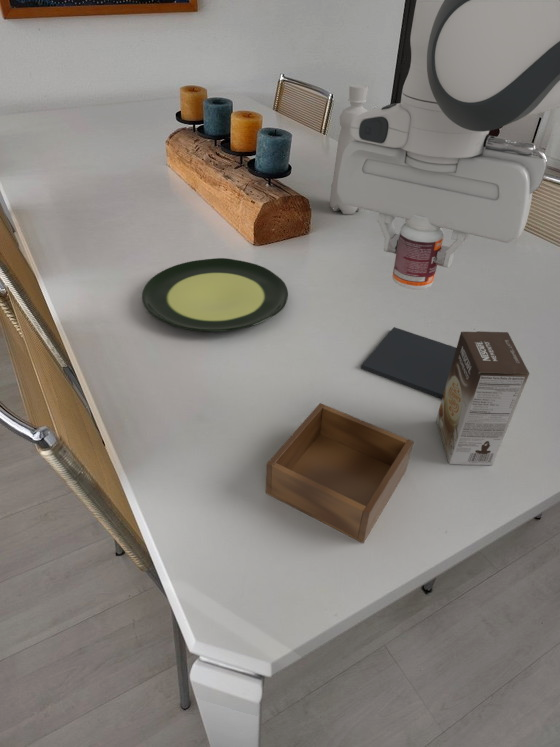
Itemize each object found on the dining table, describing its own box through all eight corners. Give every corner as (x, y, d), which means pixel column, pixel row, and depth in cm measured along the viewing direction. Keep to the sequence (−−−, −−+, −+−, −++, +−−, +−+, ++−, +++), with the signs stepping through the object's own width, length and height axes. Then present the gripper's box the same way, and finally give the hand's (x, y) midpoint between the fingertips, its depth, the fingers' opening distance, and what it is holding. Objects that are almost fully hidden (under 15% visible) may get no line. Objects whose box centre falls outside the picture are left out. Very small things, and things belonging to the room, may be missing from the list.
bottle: (369, 209, 148) (385, 86, 129) (351, 218, 142) (365, 91, 124) (340, 201, 152) (352, 81, 134) (322, 210, 146) (332, 85, 128)
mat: (503, 367, 92) (504, 363, 91) (480, 413, 82) (482, 409, 82) (393, 330, 100) (393, 326, 99) (360, 368, 90) (361, 364, 90)
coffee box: (433, 419, 81) (459, 328, 71) (476, 421, 81) (507, 330, 71) (448, 465, 73) (478, 371, 64) (495, 467, 73) (532, 373, 64)
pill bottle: (434, 292, 61) (450, 221, 56) (391, 288, 62) (404, 217, 57) (431, 273, 65) (447, 205, 60) (391, 269, 66) (403, 201, 61)
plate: (150, 269, 116) (148, 258, 114) (280, 267, 119) (280, 256, 117) (135, 343, 94) (133, 331, 92) (295, 338, 97) (296, 327, 95)
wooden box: (406, 470, 73) (413, 441, 69) (363, 543, 63) (369, 514, 60) (317, 431, 78) (320, 402, 75) (265, 493, 69) (266, 463, 65)
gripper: (559, 138, 51) (516, 271, 60) (362, 107, 60) (348, 228, 68) (547, 154, 47) (502, 294, 56) (336, 118, 55) (325, 245, 64)
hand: (416, 257), depth 62 cm, fingers closed on pill bottle, 5 cm apart
